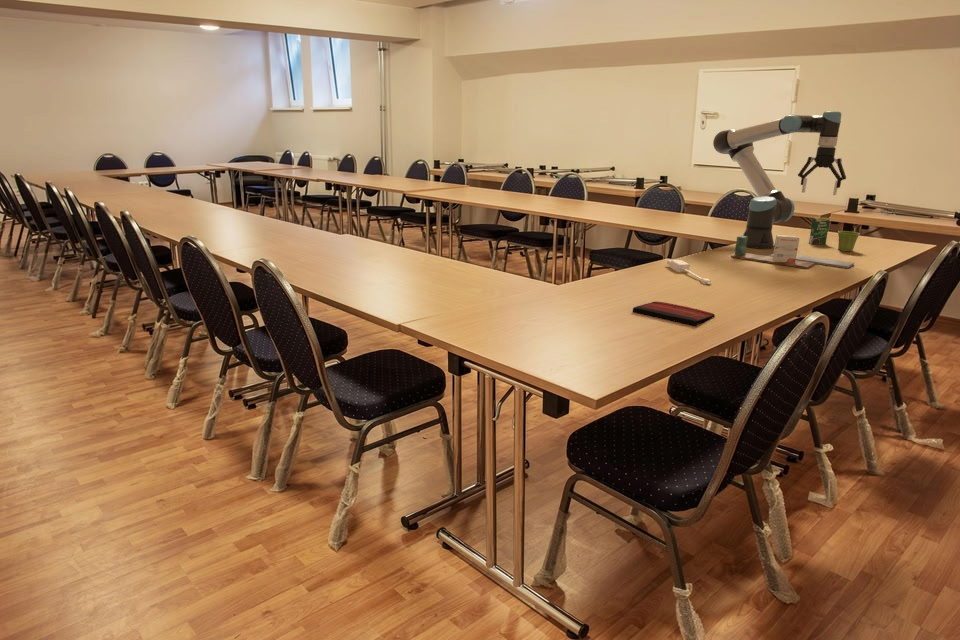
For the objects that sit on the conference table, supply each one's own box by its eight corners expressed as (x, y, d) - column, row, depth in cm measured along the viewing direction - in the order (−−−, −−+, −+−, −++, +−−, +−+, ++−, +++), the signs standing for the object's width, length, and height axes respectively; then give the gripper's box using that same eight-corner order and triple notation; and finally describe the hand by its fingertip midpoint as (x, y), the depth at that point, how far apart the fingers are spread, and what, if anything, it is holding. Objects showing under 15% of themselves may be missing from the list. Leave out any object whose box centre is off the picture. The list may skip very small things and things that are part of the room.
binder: (696, 320, 195) (632, 306, 208) (695, 328, 195) (631, 314, 208) (717, 312, 207) (655, 299, 220) (716, 319, 207) (654, 306, 220)
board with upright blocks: (730, 257, 295) (733, 237, 292) (739, 253, 303) (742, 234, 301) (807, 268, 275) (810, 247, 273) (814, 264, 284) (818, 244, 281)
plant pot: (838, 247, 325) (842, 230, 322) (859, 250, 318) (862, 233, 315) (831, 250, 318) (834, 232, 316) (852, 253, 312) (855, 235, 309)
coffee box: (811, 244, 332) (816, 218, 328) (808, 243, 335) (812, 217, 331) (826, 244, 333) (830, 218, 329) (822, 243, 336) (826, 217, 332)
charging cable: (702, 288, 245) (704, 279, 244) (665, 265, 275) (666, 257, 274) (715, 288, 246) (716, 279, 245) (676, 265, 276) (678, 257, 275)
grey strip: (769, 256, 298) (772, 237, 295) (777, 253, 306) (780, 234, 303) (847, 268, 278) (851, 247, 276) (854, 264, 286) (857, 244, 284)
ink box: (792, 262, 287) (797, 235, 284) (795, 265, 283) (800, 237, 279) (771, 261, 289) (776, 234, 285) (773, 263, 285) (778, 236, 281)
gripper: (795, 145, 307) (788, 191, 314) (855, 148, 292) (846, 196, 298) (800, 145, 313) (793, 190, 319) (859, 147, 298) (850, 195, 304)
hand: (818, 193), depth 309 cm, fingers open, 13 cm apart
